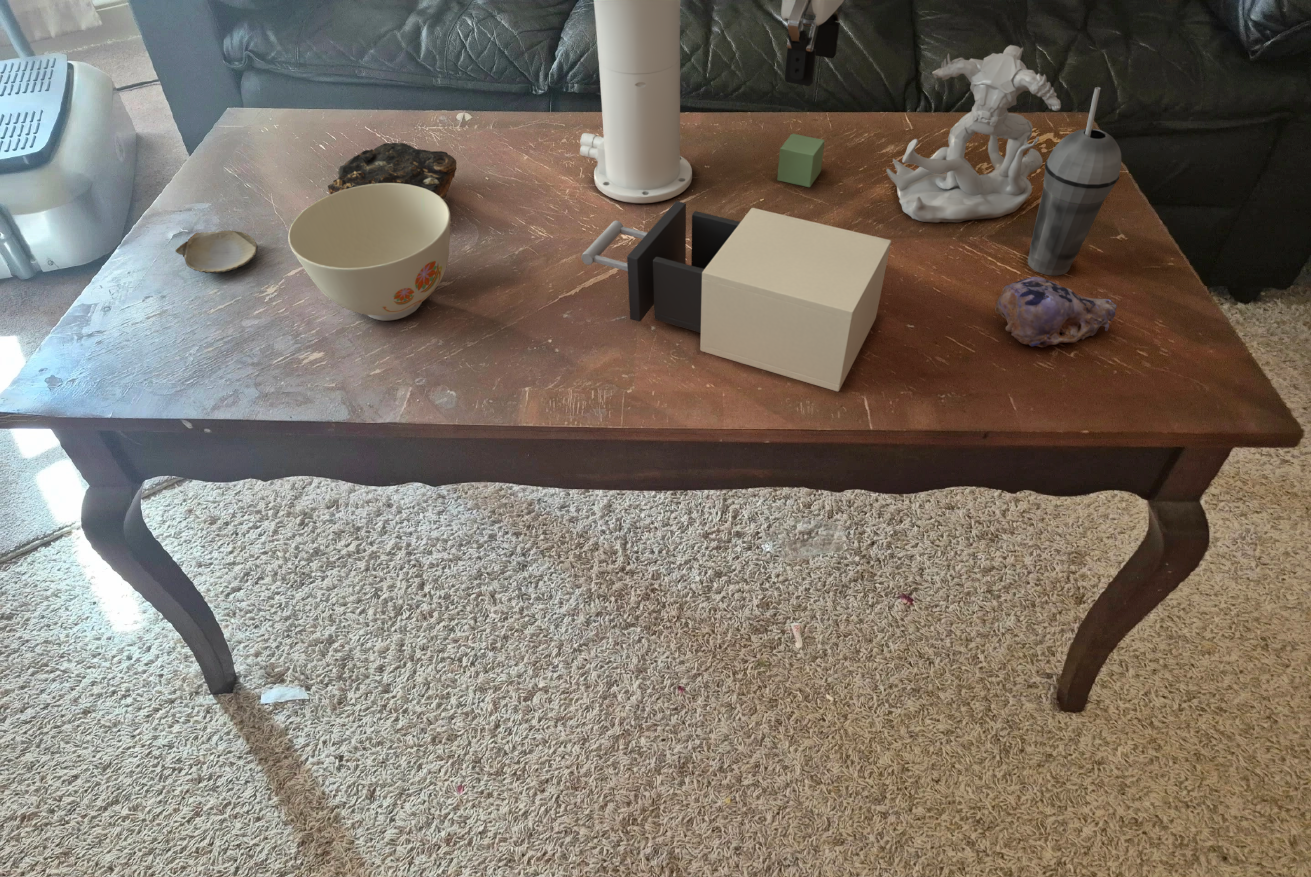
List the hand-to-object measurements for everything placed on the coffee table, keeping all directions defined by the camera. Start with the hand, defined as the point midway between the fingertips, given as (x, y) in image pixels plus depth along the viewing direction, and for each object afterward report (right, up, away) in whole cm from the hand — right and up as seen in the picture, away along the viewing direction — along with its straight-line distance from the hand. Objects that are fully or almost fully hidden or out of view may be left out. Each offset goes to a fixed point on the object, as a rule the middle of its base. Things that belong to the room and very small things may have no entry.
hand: (810, 68), depth 103 cm
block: (0, -10, +10) cm, 14 cm away
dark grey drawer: (-15, -28, -9) cm, 34 cm away
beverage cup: (+26, -24, -4) cm, 36 cm away
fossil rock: (-50, -15, +6) cm, 52 cm away
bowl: (-47, -29, -7) cm, 56 cm away
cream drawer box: (-4, -33, -12) cm, 35 cm away
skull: (+22, -32, -13) cm, 41 cm away
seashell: (-68, -23, -1) cm, 72 cm away
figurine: (+20, -14, +6) cm, 25 cm away
